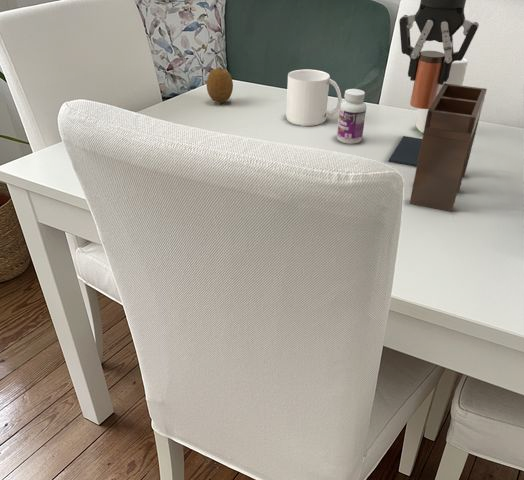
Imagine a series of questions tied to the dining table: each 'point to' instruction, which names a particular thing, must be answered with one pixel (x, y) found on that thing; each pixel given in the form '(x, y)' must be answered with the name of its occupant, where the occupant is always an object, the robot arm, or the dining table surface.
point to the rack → (446, 145)
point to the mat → (407, 151)
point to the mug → (309, 97)
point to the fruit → (219, 85)
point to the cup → (454, 78)
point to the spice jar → (427, 79)
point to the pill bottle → (351, 117)
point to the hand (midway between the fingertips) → (427, 81)
